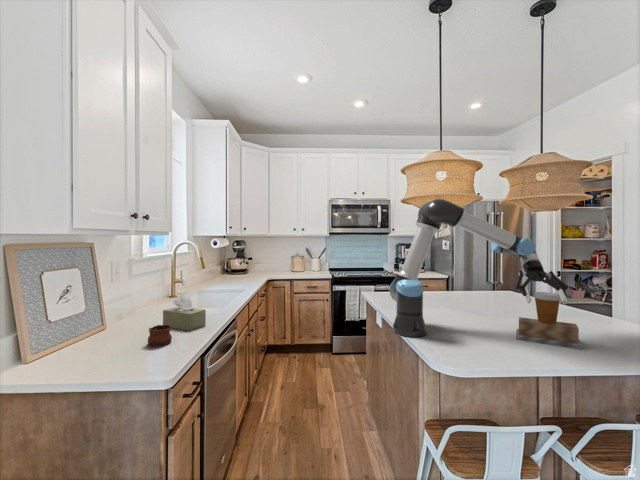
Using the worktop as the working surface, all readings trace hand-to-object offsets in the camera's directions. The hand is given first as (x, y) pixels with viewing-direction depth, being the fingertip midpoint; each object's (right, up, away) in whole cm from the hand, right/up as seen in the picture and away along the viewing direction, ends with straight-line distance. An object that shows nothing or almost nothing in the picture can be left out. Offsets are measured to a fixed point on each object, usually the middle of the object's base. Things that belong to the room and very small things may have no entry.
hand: (547, 302), depth 132 cm
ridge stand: (-1, -16, -1) cm, 16 cm away
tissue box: (-164, -16, +20) cm, 166 cm away
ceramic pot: (-163, -16, -6) cm, 164 cm away
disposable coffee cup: (0, -9, 0) cm, 9 cm away
